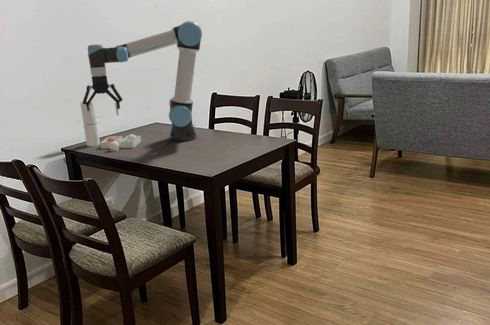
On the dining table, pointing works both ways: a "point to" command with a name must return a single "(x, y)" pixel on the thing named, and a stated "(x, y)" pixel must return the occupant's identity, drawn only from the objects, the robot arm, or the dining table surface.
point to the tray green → (130, 144)
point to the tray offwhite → (106, 144)
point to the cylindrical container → (90, 125)
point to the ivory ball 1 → (114, 145)
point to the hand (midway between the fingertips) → (104, 116)
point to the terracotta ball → (111, 139)
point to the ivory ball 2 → (131, 137)
